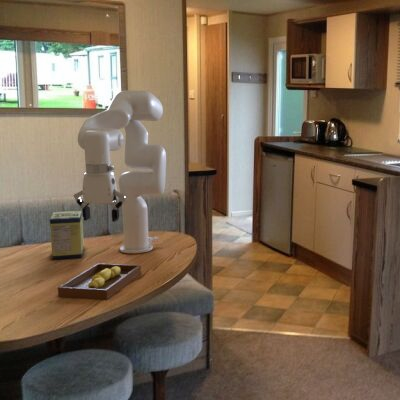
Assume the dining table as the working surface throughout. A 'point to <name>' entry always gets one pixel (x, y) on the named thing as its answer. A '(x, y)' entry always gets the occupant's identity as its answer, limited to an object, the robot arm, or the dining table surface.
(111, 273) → the banana
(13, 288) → the dining table surface
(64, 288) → the tray
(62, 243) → the protein box
